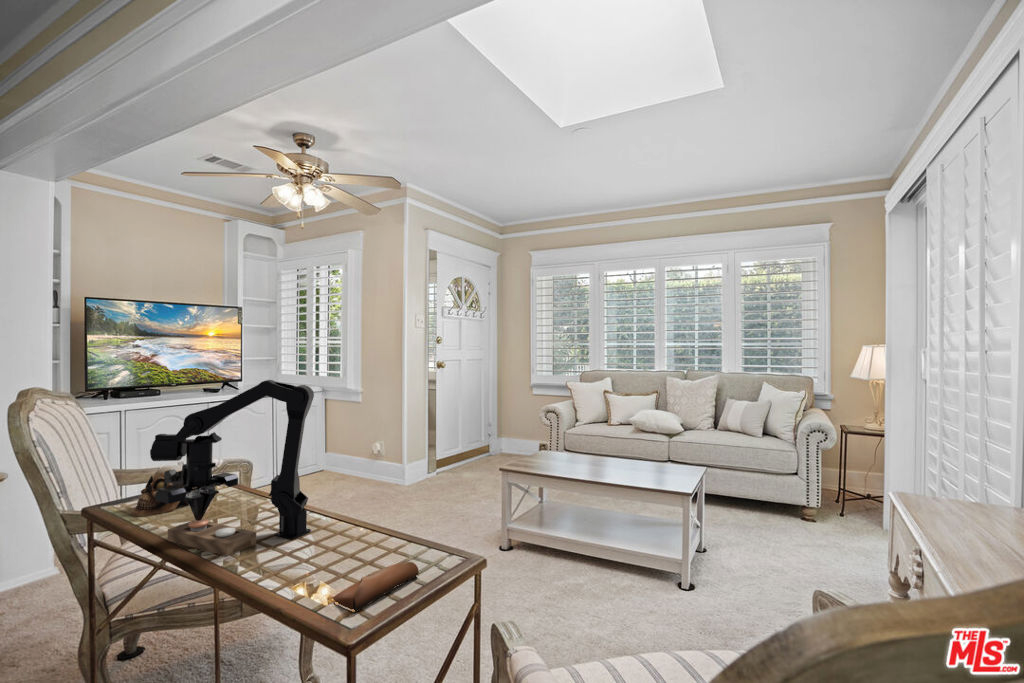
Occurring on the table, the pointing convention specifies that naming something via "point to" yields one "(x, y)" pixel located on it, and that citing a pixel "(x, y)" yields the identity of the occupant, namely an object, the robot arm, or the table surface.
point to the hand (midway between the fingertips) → (198, 520)
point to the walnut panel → (212, 538)
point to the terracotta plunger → (198, 525)
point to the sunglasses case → (376, 585)
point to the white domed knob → (225, 532)
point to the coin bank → (147, 500)
